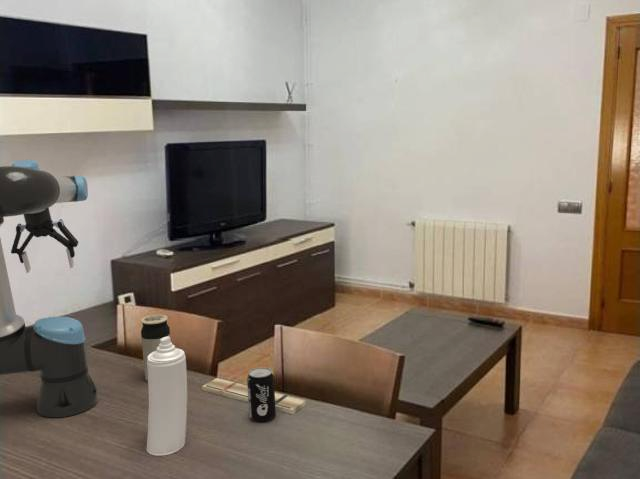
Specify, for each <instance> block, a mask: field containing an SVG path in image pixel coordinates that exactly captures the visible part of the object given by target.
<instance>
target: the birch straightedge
mask: <svg viewBox="0 0 640 479" xmlns="http://www.w3.org/2000/svg"><path fill="white" fill-rule="evenodd" d="M201 387H202V388H201V389H202V391H204V392H208V393H210V394H211V393H212V394H214V395H219V396H223V397H227V398H231V399H233V400H238V401H242V402H245V403H248V404H249V402H248V385H247V384H241V383H238V382H236V381H230V380H227V379H222V378H218V377H216V378H214V379H213V380H211V381H209V382H207V383H205V384H203V385H202V386H201ZM306 404H307V403H306V399H301V398H296V397H292V396H289V395H286V394H282V393H277V392H275V409H276V411H278V412H282V413H286V414H290V415H294V414H295V413H297V412H299V410H301V409H302V408H304V407H306Z"/></svg>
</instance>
